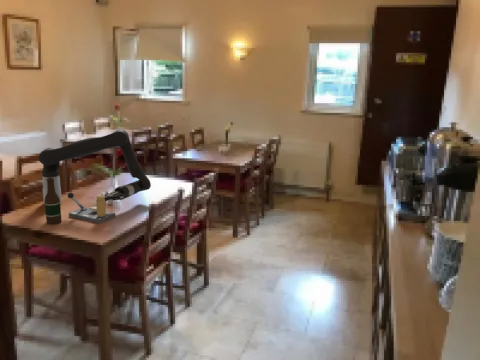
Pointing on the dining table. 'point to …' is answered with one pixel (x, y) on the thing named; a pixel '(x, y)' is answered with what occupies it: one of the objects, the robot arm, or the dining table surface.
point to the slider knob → (101, 206)
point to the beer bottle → (52, 204)
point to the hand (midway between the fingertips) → (103, 199)
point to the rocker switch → (93, 209)
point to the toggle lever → (75, 200)
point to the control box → (91, 215)
